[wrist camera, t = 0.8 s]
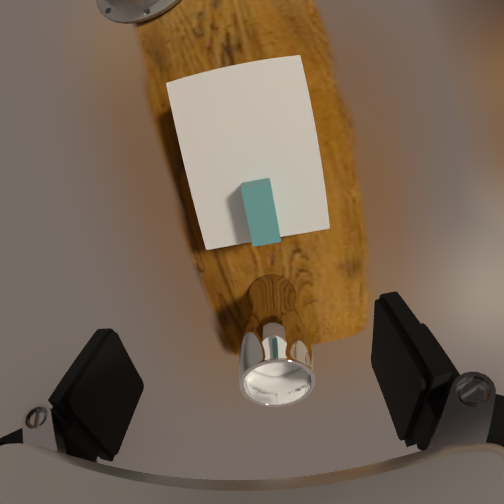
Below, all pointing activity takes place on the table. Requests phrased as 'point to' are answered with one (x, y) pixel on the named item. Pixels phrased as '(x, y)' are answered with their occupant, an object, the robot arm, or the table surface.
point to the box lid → (250, 152)
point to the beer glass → (275, 346)
